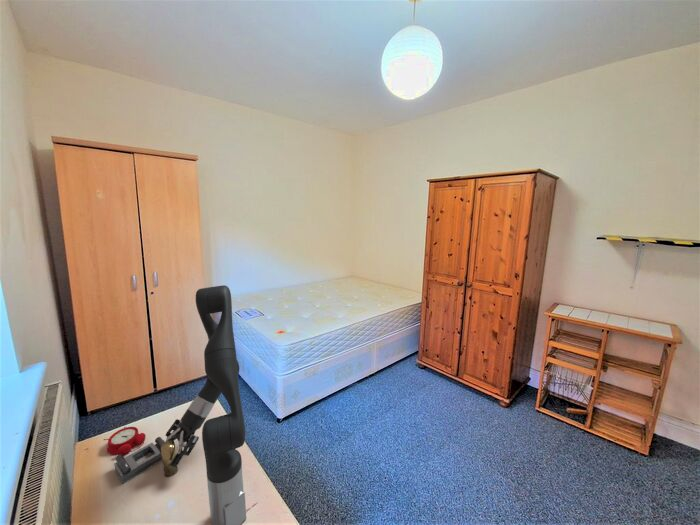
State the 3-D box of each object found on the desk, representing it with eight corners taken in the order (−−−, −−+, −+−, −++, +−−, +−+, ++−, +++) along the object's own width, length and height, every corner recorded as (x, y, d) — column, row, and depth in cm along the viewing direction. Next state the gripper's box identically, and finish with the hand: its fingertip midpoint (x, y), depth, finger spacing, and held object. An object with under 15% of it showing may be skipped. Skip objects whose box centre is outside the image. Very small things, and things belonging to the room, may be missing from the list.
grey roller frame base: (172, 454, 106) (171, 442, 105) (123, 484, 94) (121, 471, 93) (163, 442, 111) (161, 431, 110) (114, 470, 99) (112, 458, 98)
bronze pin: (179, 471, 99) (176, 444, 97) (167, 479, 96) (163, 451, 94) (174, 465, 102) (171, 438, 100) (162, 473, 98) (158, 445, 96)
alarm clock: (128, 422, 117) (149, 425, 111) (132, 436, 118) (154, 440, 111) (97, 440, 108) (119, 445, 101) (102, 455, 108) (124, 461, 102)
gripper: (181, 400, 106) (149, 447, 99) (199, 417, 98) (166, 469, 91) (197, 405, 111) (167, 450, 104) (215, 422, 103) (185, 471, 96)
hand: (167, 459), depth 97 cm, fingers open, 8 cm apart
